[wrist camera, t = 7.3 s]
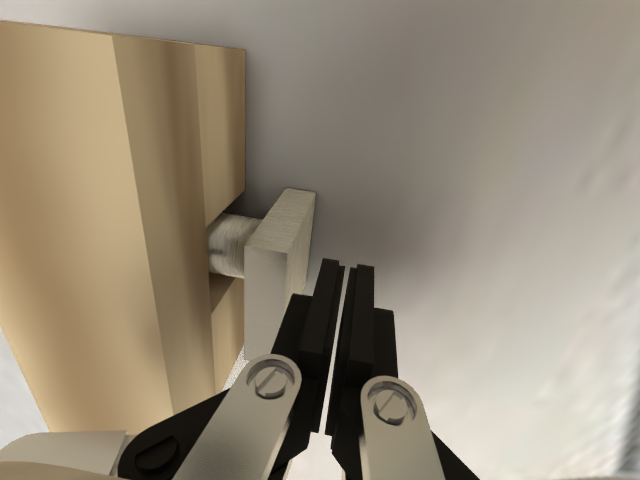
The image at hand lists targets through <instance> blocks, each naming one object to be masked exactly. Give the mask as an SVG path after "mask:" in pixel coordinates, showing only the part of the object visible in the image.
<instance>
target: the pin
mask: <svg viewBox="0 0 640 480" xmlns="http://www.w3.org/2000/svg"><path fill="white" fill-rule="evenodd" d="M315 197H316V192H310V191H303V190H297V189H291V188H286V189H285V190H284V192H283V193H282V194H281V196H280V197H279V198H278V200H277V201H276V203H275V204H274V205H273V207H272V208H271V209H270V211H269V212H268V214H267V215H266V216H265V218H264V219H263V220H262V219H256V218H250V217H244V216H238V215H232V214H226V213H220V214H219V215H218V216H217V217H216V218H215V219H214V220H213V221H212V222H211V223H210V224H209V225H208V226H207V227H206V240H207V257H208V272H210V273H216V274H221V275H226V276H232V277H237V278H243V279H244V359H245V360H250V361H251V360H253V359H255V358H256V357H259V356H262V355H266V354H270V353H271V350H272V347H273V345H274V342H275V339H276V337H277V334H278V331H279V328H280V326H281V323H282V320H283V317H284V315H285V312H286V309H287V306H288V304H289V301H290V298H291V296H292V294H293V293H295V294H301V295H302V294H303V290H304V287H305V284H306V277H307V268H308V260H309V251H310V242H311V233H312V224H313V215H314V206H315Z"/></svg>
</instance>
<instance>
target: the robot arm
mask: <svg viewBox="0 0 640 480" xmlns="http://www.w3.org/2000/svg"><path fill="white" fill-rule="evenodd" d="M344 271H345V266H340V265H339V261H337V260H331V259H325V258H323V260H322V264H321V268H320V271H319V275H318V279H317V282H316V286H315V290H314V293H313V297H312V296H307V295H301V294H295V293H293V294H292V296H291V298H290V301H289V304H288V306H287V309H286V312H285V315H284V317H283V320H282V323H281V326H280V328H279V331H278V334H277V337H276V339H275V342H274V345H273V347H272V350H271V353H270V354H266V355H262V356H259V357H256V358H255V359H253V360H251V361H250V362H249V363H248V364H247V365H246V366H245V367H244V368H243V370H242V371H241V373H240V374H239V376H238V377H237V379H236V381H235V382H234V384H233V385H232V387H231V388H229V389H227V390H225V391H223V392H221V393H219V394H217V395H215V396H212V397H210V398H208V399H206V400H204V401H202V402H200V403H198V404H196V405H194V406H192V407H190V408H188V409H186V410H184V411H182V412H180V413H177V414H175V415H173V416H171V417H169V418H167V419H165V420H163V421H161V422H159V423H157V424H155V425H153V426H151V427H149V428H147V429H146V430H144V431H142V432H141V433H139V434H137V435H128V431H127V430H117V431H83V432H48V433H36V434H30V435H26V436H24V437H21V438H19V439H17V440H15V441H12V442H11V443H9V444H8V445H7V446H5V447H4V448H2V449H1V450H0V480H286V478H287V475H288V472H289V469H290V467H291V463H292V458H294V457H295V456H297V455H298V454H299V453H301V452H302V451H304V450H305V449H307V447H308V444H309V438H310V433H311V432H315V433H319V427H320V421H321V415H322V409H323V403H324V397H325V391H326V386H327V380H328V374H329V368H330V362H331V356H332V350H333V343H334V337H335V330H336V323H337V317H338V310H339V304H340V297H341V291H342V284H343V277H344ZM325 435H329V436H332V441H331V449H332V454H333V456H334V457H335V459H336V460H337V461H338V463H339V464H340V466H341V467H342V480H480V479H479V478H478V477H477V476H476V475H475V474H474V473H473V472H472V471H471V470H470V469H469V468H468V467H467V466H466V465H465V464H464V463H463V462H462V461H461V460H460V459H459V458H458V457H457V456H456V455H455V454H454V453H453V452H452V451H451V450H450V449H449V448H448V447H447V446H446V445H445V444H444V443H443V442H442V441H441V440H440V439H439V438H438V437H437V436H436V435H435V434H434V433H433V432H432V431H431V430H430V426H429V423H428V419H427V416H426V413H425V409H424V406H423V403H422V401H421V399H420V397H419V395H418V394H417V393H416V391H415V390H414V389H413V388H412V387H411V386H410V385H408V384H407V383H406V382H404V381H402V380H400V379H398V367H397V353H396V339H395V325H394V313H393V311H391V310H385V309H380V308H374V267H373V266H367V265H361V264H357V268H352V267H350V272H349V278H348V283H347V289H346V295H345V300H344V306H343V312H342V317H341V323H340V329H339V335H338V341H337V349H336V356H335V363H334V370H333V378H332V385H331V392H330V399H329V406H328V414H327V421H326V428H325Z"/></svg>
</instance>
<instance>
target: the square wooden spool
mask: <svg viewBox="0 0 640 480" xmlns="http://www.w3.org/2000/svg"><path fill="white" fill-rule="evenodd" d="M244 190H245V50H244V49H236V48H228V47H220V46H212V45H204V44H196V43H189V42H181V41H173V40H165V39H157V38H149V37H141V36H133V35H126V34H118V33H110V32H102V31H93V30H84V29H76V28H67V27H59V26H50V25H42V24H33V23H24V22H16V21H7V20H0V326H1V328H2V330H3V333H4V335H5V337H6V339H7V341H8V343H9V346H10V348H11V350H12V352H13V354H14V356H15V358H16V361H17V363H18V365H19V367H20V369H21V371H22V373H23V376H24V378H25V380H26V382H27V384H28V386H29V388H30V391H31V393H32V395H33V397H34V399H35V401H36V403H37V406H38V408H39V410H40V412H41V414H42V416H43V418H44V421H45V423H46V425H47V427H48V429H49V431H50V432H83V431H117V430H127V431H128V435H137V434H139V433H141V432H142V431H144V430H146V429H147V428H149V427H151V426H153V425H155V424H157V423H159V422H161V421H163V420H165V419H167V418H169V417H171V416H173V415H175V414H177V413H180V412H182V411H184V410H186V409H188V408H190V407H192V406H194V405H196V404H198V403H200V402H202V401H204V400H206V399H208V398H210V397H212V396H215V395H217V394H219V393H221V391H222V389H223V387H224V385H225V383H226V381H227V379H228V376H229V374H230V372H231V370H232V368H233V366H234V364H235V362H236V359H237V357H238V355H239V353H240V351H241V349H242V347H243V345H244V279H243V278H237V277H232V276H226V275H221V274H216V273H210V272H208V257H207V240H206V227H207V226H208V225H209V224H210V223H211V222H212V221H213V220H214V219H215V218H216V217H217V216H218V215H219V214H220V213H221V212H222V211H224V210H225V209H226V208H227V207H228V206H229V205H230V204H231V203H232V202H233V201H234V200H235V199H236V198H237V197H238V196H239V195H240V194H241V193H242V192H243V191H244Z"/></svg>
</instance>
